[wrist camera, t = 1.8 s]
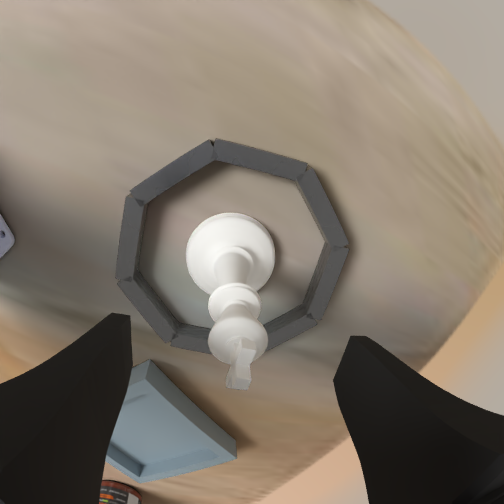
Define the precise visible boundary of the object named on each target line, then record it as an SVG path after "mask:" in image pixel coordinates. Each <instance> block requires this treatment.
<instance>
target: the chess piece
mask: <svg viewBox="0 0 504 504" xmlns="http://www.w3.org/2000/svg"><path fill="white" fill-rule="evenodd" d="M186 261H187V267H188V271H189V273H190V275H191V277H192V279H193V281H194V282H195V283H196V284H197V286H198V287H200V288H201V289H202V290H203V291H205V292H206V293H208V294H210V295H211V296H210V298H209V302H208V310H209V314H210V316H211V317H212V319H213V321H214V322H215V324H214V325H213V327H212V329H211V331H210V333H209V337H208V345H209V349H210V351H211V353H212V354H213V355H214V356H215V357H216V358H217V359H218V360H220V361H221V362H224V363H226V364H230V365H231V366H230V369H229V371H228V374H227V376H226V388H231V389H237V390H240V389H242V390H247V389H248V387H249V385H250V383H251V381H252V379H251V372H250V364H251V362H253V361H255V360H257V359H258V358H259V357H260V356H261V355H262V354H263V353H264V352H265V350H266V348H267V344H268V336H267V332H266V330H265V328H264V327H263V325H262V324H261V323H260V322H259V321H258V320H257V319H258V317H259V315H260V312H261V308H262V303H261V298H260V296H259V294H258V293H257V292H256V291H258V290H259V289H260V288H261V287H262V286H263V285H264V284H265V283H266V282H267V281H268V279H269V278H270V276H271V274H272V271H273V268H274V264H275V248H274V243H273V240H272V238H271V236H270V234H269V232H268V231H267V229H266V228H265V227H264V226H263V225H262V224H261V223H260V222H258V221H257V220H255V219H254V218H252V217H250V216H247V215H244V214H240V213H222V214H218V215H215V216H212V217H210V218H208V219H206V220H205V221H203V222H202V223H201V224H200V225H199V226H198V227H197V228H196V229H195V230H194V231H193V233H192V235H191V236H190V238H189V241H188V244H187V249H186Z"/></svg>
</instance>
